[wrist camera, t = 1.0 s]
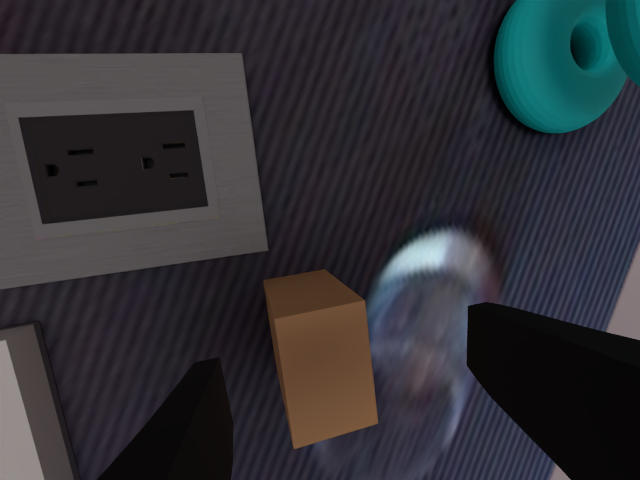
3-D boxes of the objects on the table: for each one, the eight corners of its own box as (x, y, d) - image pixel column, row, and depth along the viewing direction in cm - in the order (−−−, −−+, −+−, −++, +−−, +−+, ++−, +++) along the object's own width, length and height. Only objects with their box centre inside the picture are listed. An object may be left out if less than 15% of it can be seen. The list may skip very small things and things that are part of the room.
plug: (335, 354, 22) (378, 423, 15) (276, 369, 21) (293, 449, 14) (324, 269, 21) (364, 300, 14) (262, 280, 20) (274, 319, 13)
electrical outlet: (19, 280, 17) (-15, 292, 15) (-31, 73, 16) (-78, 50, 13) (265, 245, 20) (268, 251, 18) (241, 69, 19) (241, 50, 16)
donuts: (849, -128, 14) (805, 103, 15) (602, 7, 24) (585, 143, 25) (697, -211, 12) (657, 71, 13) (491, -23, 21) (477, 129, 22)
